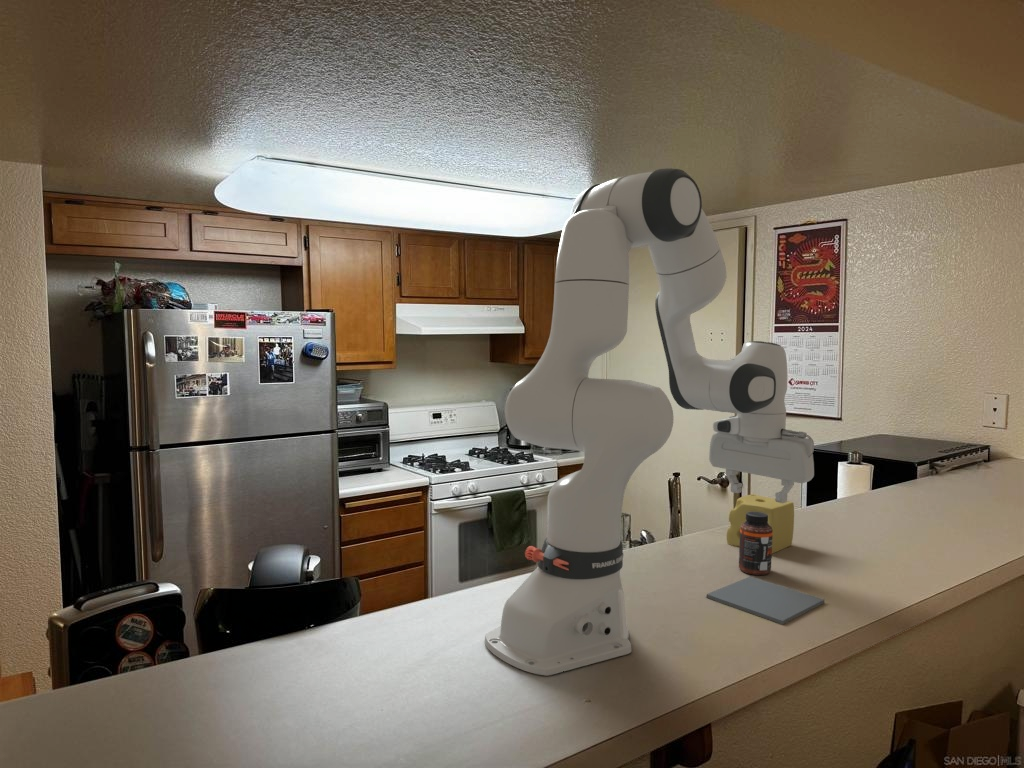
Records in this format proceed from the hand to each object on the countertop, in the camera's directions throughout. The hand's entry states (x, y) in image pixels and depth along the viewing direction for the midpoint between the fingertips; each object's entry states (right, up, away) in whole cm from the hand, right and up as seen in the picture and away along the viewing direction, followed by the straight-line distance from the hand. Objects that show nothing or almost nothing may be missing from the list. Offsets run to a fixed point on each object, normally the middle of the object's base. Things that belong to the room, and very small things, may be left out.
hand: (758, 497), depth 132 cm
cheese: (+7, -14, +17) cm, 23 cm away
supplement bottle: (0, -15, +1) cm, 15 cm away
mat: (-4, -16, -14) cm, 21 cm away
